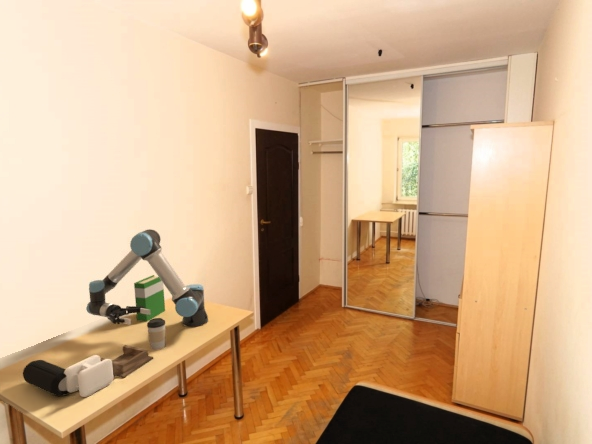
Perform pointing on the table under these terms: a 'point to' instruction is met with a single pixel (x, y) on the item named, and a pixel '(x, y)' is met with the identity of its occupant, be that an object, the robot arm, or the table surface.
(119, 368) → the brown wooden tray
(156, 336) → the coffee cup
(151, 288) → the hardback book
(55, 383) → the portable speaker
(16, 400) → the table surface
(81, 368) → the cable organizer
